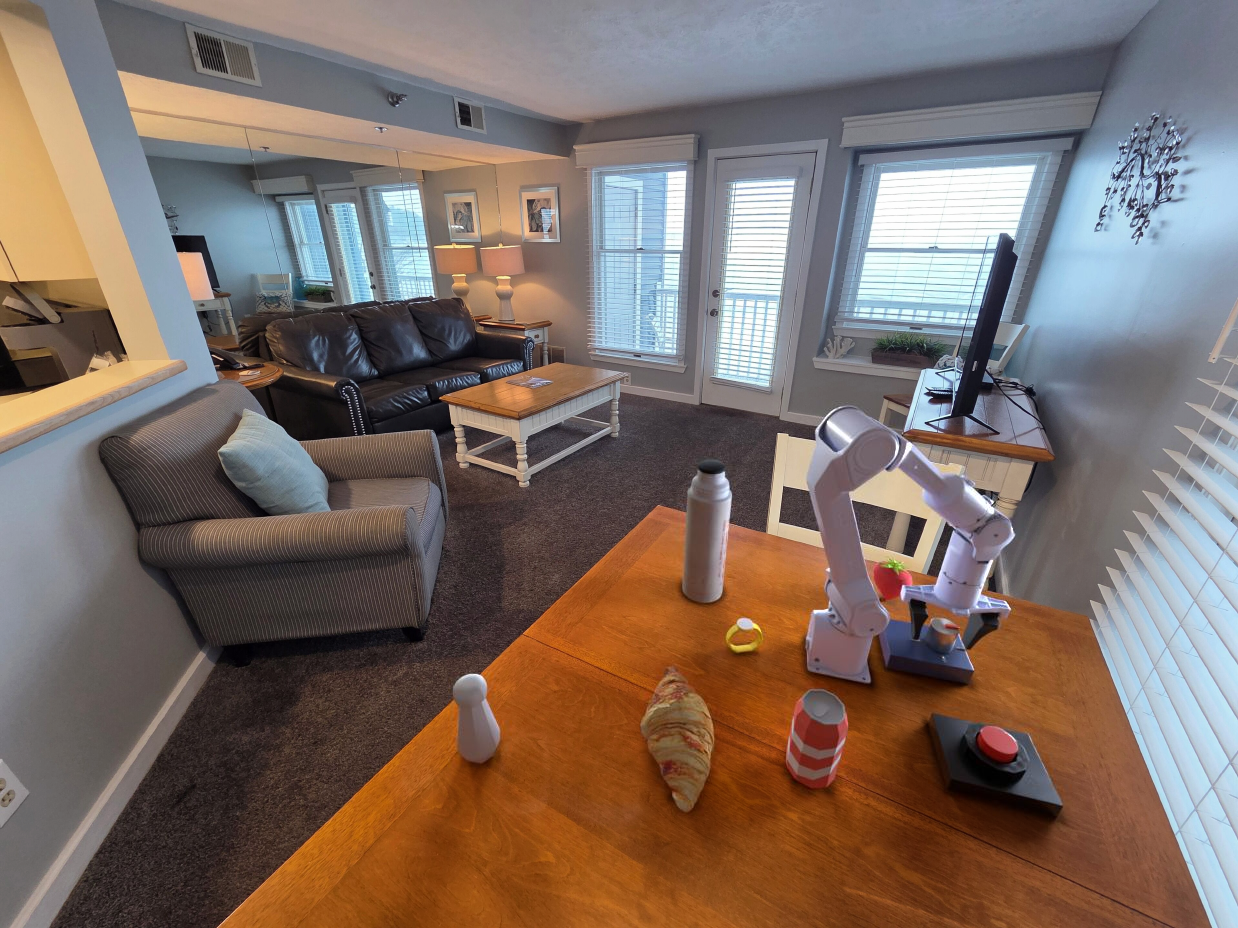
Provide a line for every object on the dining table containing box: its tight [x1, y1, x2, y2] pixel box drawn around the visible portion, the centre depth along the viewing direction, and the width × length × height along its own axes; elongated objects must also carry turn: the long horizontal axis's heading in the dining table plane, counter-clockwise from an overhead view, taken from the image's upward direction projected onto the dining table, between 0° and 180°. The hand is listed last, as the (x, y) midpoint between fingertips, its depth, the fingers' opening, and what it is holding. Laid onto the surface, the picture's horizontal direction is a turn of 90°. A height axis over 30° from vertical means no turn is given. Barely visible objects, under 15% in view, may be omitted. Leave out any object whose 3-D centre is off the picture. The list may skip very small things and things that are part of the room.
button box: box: [927, 712, 1064, 818], centre depth 67 cm, size 12×10×4 cm
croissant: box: [639, 666, 715, 813], centre depth 70 cm, size 21×10×8 cm, turn 1°
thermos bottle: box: [681, 459, 733, 604], centre depth 95 cm, size 8×8×28 cm
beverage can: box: [785, 688, 849, 789], centre depth 65 cm, size 6×6×12 cm
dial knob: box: [925, 617, 960, 653], centre depth 82 cm, size 4×4×4 cm
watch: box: [725, 617, 764, 654], centre depth 85 cm, size 6×3×6 cm, turn 95°
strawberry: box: [872, 556, 913, 601], centre depth 96 cm, size 6×8×10 cm
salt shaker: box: [452, 673, 501, 765], centre depth 67 cm, size 6×6×13 cm
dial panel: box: [878, 618, 975, 685], centre depth 84 cm, size 12×9×3 cm
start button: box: [977, 726, 1018, 763], centre depth 66 cm, size 4×4×2 cm
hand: (939, 640), depth 83 cm, fingers open, 7 cm apart
